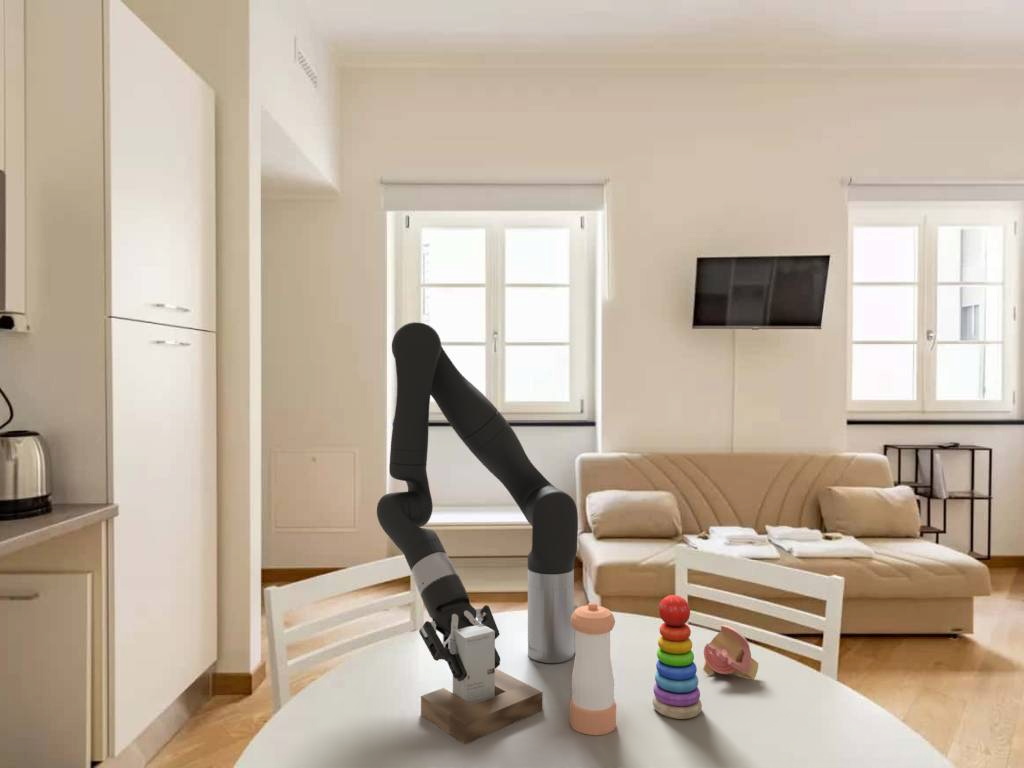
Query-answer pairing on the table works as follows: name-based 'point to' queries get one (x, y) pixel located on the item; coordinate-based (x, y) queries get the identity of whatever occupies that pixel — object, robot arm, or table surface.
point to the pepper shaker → (592, 672)
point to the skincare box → (476, 663)
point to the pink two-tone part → (729, 654)
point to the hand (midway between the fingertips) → (480, 672)
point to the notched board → (482, 708)
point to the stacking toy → (676, 663)
